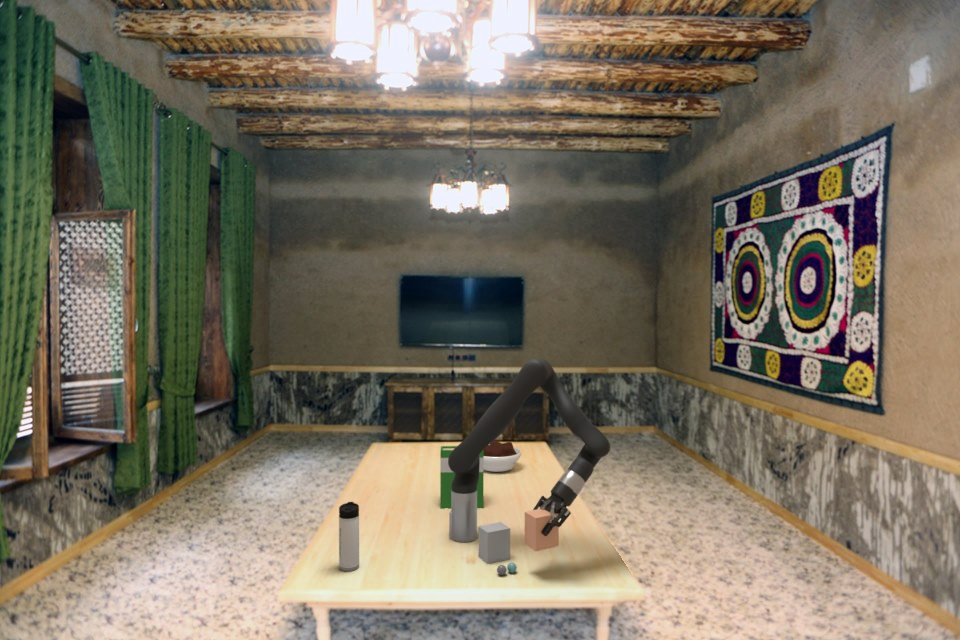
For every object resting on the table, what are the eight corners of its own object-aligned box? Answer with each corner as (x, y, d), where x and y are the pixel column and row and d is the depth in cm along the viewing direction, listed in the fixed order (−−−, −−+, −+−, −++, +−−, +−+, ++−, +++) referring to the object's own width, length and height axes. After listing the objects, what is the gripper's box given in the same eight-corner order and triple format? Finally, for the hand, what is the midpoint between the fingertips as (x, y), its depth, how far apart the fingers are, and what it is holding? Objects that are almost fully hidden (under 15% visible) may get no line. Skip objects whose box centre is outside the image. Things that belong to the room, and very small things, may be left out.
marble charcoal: (495, 576, 184) (495, 566, 184) (498, 572, 187) (498, 562, 187) (505, 577, 183) (505, 568, 183) (507, 573, 186) (507, 563, 186)
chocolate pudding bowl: (463, 466, 308) (464, 437, 308) (506, 461, 319) (506, 432, 318) (484, 479, 286) (484, 447, 285) (530, 473, 296) (530, 442, 296)
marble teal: (506, 573, 186) (506, 564, 186) (508, 569, 189) (508, 560, 189) (515, 575, 185) (515, 565, 185) (517, 571, 188) (517, 561, 188)
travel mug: (360, 562, 194) (360, 501, 193) (357, 571, 187) (357, 508, 186) (341, 562, 193) (341, 501, 193) (337, 571, 187) (337, 508, 186)
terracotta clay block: (535, 551, 182) (535, 518, 181) (524, 543, 187) (524, 511, 187) (558, 546, 186) (558, 513, 185) (547, 538, 191) (547, 507, 191)
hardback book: (482, 502, 253) (482, 446, 252) (483, 508, 245) (483, 450, 245) (440, 502, 252) (441, 446, 251) (440, 508, 245) (440, 450, 244)
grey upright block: (487, 563, 193) (487, 532, 192) (478, 556, 198) (478, 526, 198) (510, 558, 197) (510, 528, 196) (500, 551, 202) (500, 521, 202)
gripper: (548, 474, 196) (517, 516, 191) (574, 486, 183) (542, 531, 178) (561, 488, 198) (531, 529, 193) (588, 501, 186) (557, 545, 181)
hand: (537, 530), depth 186 cm, fingers closed on terracotta clay block, 6 cm apart
